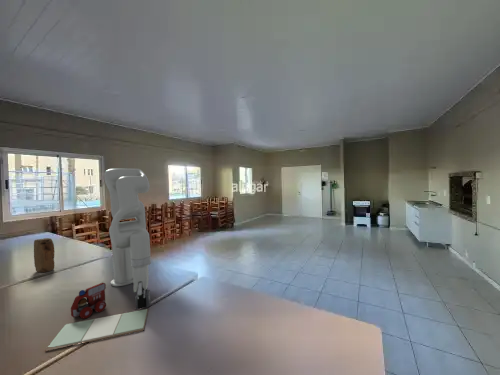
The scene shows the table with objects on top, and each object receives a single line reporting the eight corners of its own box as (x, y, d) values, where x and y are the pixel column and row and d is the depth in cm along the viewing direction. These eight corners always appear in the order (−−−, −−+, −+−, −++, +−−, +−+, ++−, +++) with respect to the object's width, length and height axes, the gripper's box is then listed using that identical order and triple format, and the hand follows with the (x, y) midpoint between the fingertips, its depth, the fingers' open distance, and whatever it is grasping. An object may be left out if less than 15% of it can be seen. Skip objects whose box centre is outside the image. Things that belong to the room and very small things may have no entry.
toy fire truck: (67, 318, 90) (66, 292, 90) (101, 303, 100) (100, 280, 100) (75, 323, 86) (74, 296, 86) (110, 307, 97) (109, 283, 97)
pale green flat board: (65, 325, 85) (65, 323, 85) (148, 310, 93) (148, 308, 93) (45, 352, 72) (44, 349, 72) (143, 330, 80) (143, 328, 80)
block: (33, 271, 144) (31, 239, 144) (48, 267, 151) (46, 236, 151) (42, 273, 140) (40, 240, 139) (57, 269, 147) (55, 238, 146)
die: (137, 303, 99) (137, 291, 99) (150, 301, 101) (150, 289, 101) (135, 309, 94) (135, 297, 94) (149, 307, 96) (148, 294, 96)
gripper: (134, 256, 104) (136, 296, 104) (126, 269, 88) (129, 316, 88) (152, 254, 106) (154, 293, 107) (148, 266, 90) (150, 312, 90)
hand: (143, 303), depth 97 cm, fingers closed on die, 5 cm apart
